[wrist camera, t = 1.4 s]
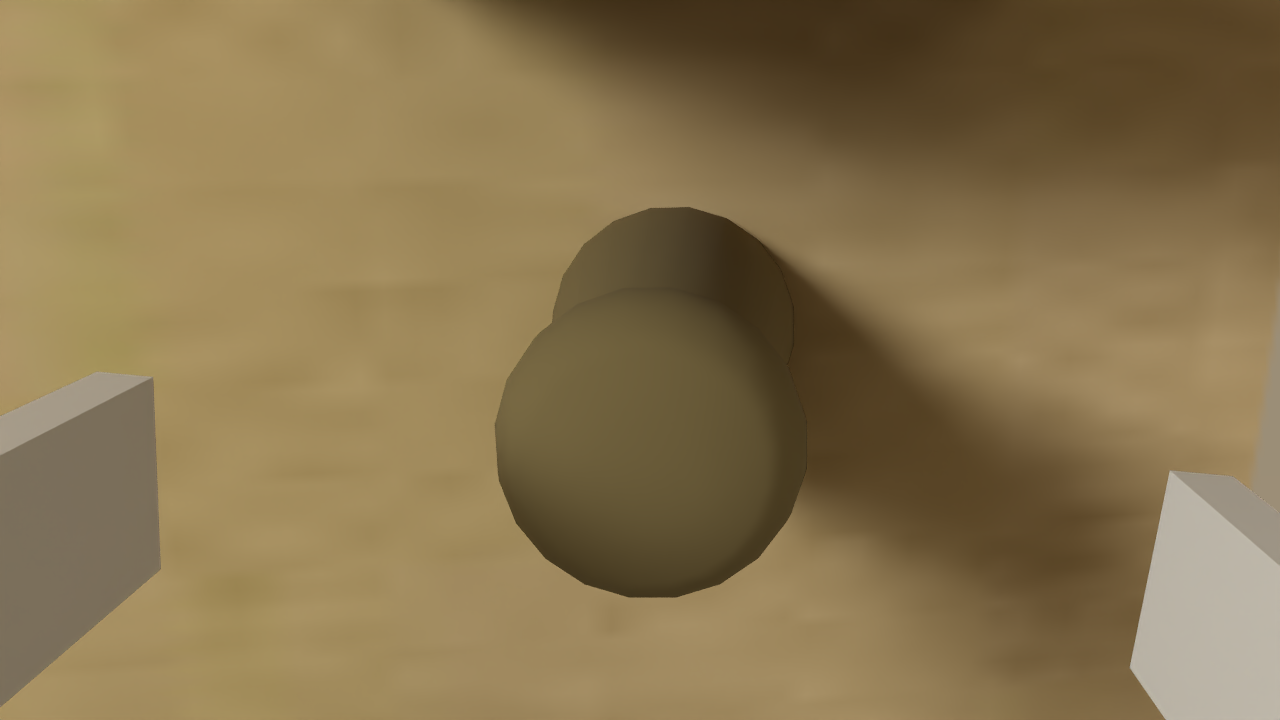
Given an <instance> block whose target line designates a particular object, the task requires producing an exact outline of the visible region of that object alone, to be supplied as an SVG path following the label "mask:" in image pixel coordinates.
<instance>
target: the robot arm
mask: <svg viewBox="0 0 1280 720" xmlns="http://www.w3.org/2000/svg"><path fill="white" fill-rule="evenodd" d="M160 569H161V564H160V538H159V513H158V488H157V462H156V437H155V412H154V386H153V377H148V376H137V375H126V374H115V373H105V372H95V373H93V374H91V375H89V376H87V377H84V378H82V379H80V380H78V381H76V382H74V383H71V384H69V385H67V386H65V387H63V388H60V389H58V390H56V391H54V392H52V393H50V394H47V395H45V396H43V397H41V398H39V399H37V400H34V401H32V402H30V403H28V404H26V405H23V406H21V407H19V408H17V409H15V410H13V411H10V412H8V413H6V414H4V415H2V416H0V707H1V706H2V705H3V704H5V703H6V702H7V701H8V700H9V699H10V698H12V697H13V696H14V695H15V694H16V693H17V692H19V691H20V690H21V689H22V688H23V687H24V686H25V685H27V684H28V683H29V682H30V681H31V680H32V679H34V678H35V677H36V676H37V675H38V674H39V673H41V672H42V671H43V670H44V669H45V668H46V667H48V666H49V665H50V664H51V663H52V662H53V661H55V660H56V659H57V658H58V657H59V656H60V655H62V654H63V653H64V652H65V651H66V650H67V649H68V648H70V647H71V646H72V645H73V644H74V643H75V642H77V641H78V640H79V639H80V638H81V637H82V636H84V635H85V634H86V633H87V632H88V631H89V630H91V629H92V628H93V627H94V626H95V625H96V624H98V623H99V622H100V621H101V620H102V619H103V618H105V617H106V616H107V615H108V614H109V613H110V612H111V611H113V610H114V609H115V608H116V607H117V606H118V605H120V604H121V603H122V602H123V601H124V600H125V599H127V598H128V597H129V596H130V595H131V594H132V593H134V592H135V591H136V590H137V589H138V588H139V587H141V586H142V585H143V584H144V583H145V582H146V581H148V580H149V579H150V578H151V577H152V576H153V575H154V574H156V573H157V572H158V571H159V570H160ZM1130 669H1131V670H1132V672H1133V673H1134V675H1135V676H1136V678H1137V679H1138V680H1139V682H1140V683H1141V685H1142V686H1143V688H1144V689H1145V691H1146V692H1147V693H1148V695H1149V696H1150V698H1151V699H1152V701H1153V702H1154V704H1155V705H1156V706H1157V708H1158V709H1159V711H1160V712H1161V714H1162V715H1163V717H1164V718H1165V719H1166V720H1280V513H1279V512H1278V511H1277V510H1276V509H1274V508H1273V507H1272V506H1270V505H1269V504H1268V503H1267V502H1265V501H1264V500H1262V499H1261V498H1260V497H1259V496H1258V495H1256V494H1255V493H1254V492H1252V491H1251V490H1250V489H1248V488H1247V487H1246V486H1245V485H1243V484H1242V483H1241V482H1239V481H1238V480H1237V479H1236V478H1234V477H1233V476H1225V475H1214V474H1204V473H1193V472H1182V471H1171V470H1170V472H1169V477H1168V482H1167V487H1166V492H1165V497H1164V502H1163V507H1162V512H1161V517H1160V521H1159V526H1158V531H1157V536H1156V541H1155V546H1154V551H1153V556H1152V561H1151V566H1150V570H1149V575H1148V580H1147V585H1146V590H1145V595H1144V600H1143V605H1142V610H1141V615H1140V620H1139V624H1138V629H1137V634H1136V639H1135V644H1134V649H1133V654H1132V659H1131V664H1130Z"/></svg>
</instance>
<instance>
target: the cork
mask: <svg viewBox="0 0 1280 720" xmlns="http://www.w3.org/2000/svg"><path fill="white" fill-rule="evenodd" d="M793 345H794V307H793V304H792V301H791V298H790V295H789V292H788V289H787V286H786V283H785V280H784V277H783V274H782V271H781V270H780V268H779V267H778V266H777V264H776V263H775V262H774V261H773V259H772V258H771V257H770V255H769V254H768V253H767V251H766V250H765V249H764V247H763V246H762V245H761V243H760V242H759V241H758V240H757V239H756V238H754V237H753V236H751V235H750V234H748V233H747V232H745V231H744V230H743V229H741V228H740V227H738V226H737V225H735V224H734V223H732V222H731V221H730V220H728V219H727V218H724V217H720V216H717V215H713V214H710V213H707V212H703V211H700V210H697V209H693V208H690V207H680V208H650V209H647V210H644V211H641V212H638V213H636V214H633V215H630V216H627V217H624V218H622V219H619V220H616V221H614V222H612V223H611V224H610V225H608V226H607V227H606V228H605V229H603V230H602V231H601V232H599V233H598V234H597V235H596V236H594V237H593V238H592V239H590V240H589V241H588V242H587V243H585V244H584V245H583V247H582V248H581V250H580V251H579V253H578V254H577V256H576V257H575V259H574V260H573V262H572V263H571V265H570V266H569V268H568V269H567V271H566V272H565V274H564V275H563V278H562V281H561V285H560V289H559V292H558V296H557V300H556V303H555V307H554V311H553V320H552V324H550V325H549V326H548V327H546V328H545V329H544V330H543V331H541V332H540V333H539V334H538V335H537V336H536V338H535V339H534V340H533V341H532V343H531V344H530V346H529V347H528V349H527V350H526V352H525V353H524V355H523V356H522V358H521V359H520V361H519V362H518V364H517V365H516V367H515V368H514V370H513V371H512V373H511V374H510V376H509V377H508V379H507V381H506V385H505V389H504V392H503V396H502V400H501V404H500V407H499V411H498V415H497V419H496V422H495V435H496V450H497V465H498V476H499V482H500V484H501V487H502V489H503V492H504V494H505V497H506V499H507V502H508V504H509V507H510V509H511V512H512V514H513V516H514V519H515V521H516V524H517V525H518V526H519V527H520V528H521V530H522V531H523V532H524V533H525V534H526V536H527V537H528V538H529V539H530V540H531V542H532V543H533V544H534V545H535V546H536V548H537V549H538V550H539V551H540V552H541V554H542V555H543V556H544V557H545V558H546V559H547V560H548V561H550V562H551V563H553V564H555V565H556V566H558V567H559V568H561V569H562V570H564V571H565V572H567V573H568V574H570V575H571V576H573V577H574V578H576V579H577V580H579V581H580V582H582V583H584V584H586V585H589V586H592V587H596V588H599V589H603V590H606V591H609V592H613V593H616V594H619V595H623V596H626V597H679V596H682V595H685V594H689V593H692V592H695V591H699V590H702V589H705V588H709V587H712V586H715V585H719V584H721V583H722V582H724V581H725V580H727V579H728V578H730V577H731V576H733V575H734V574H736V573H737V572H739V571H740V570H742V569H743V568H744V567H746V566H747V565H749V564H750V563H752V562H753V561H755V560H756V559H758V558H759V556H760V555H761V554H762V553H763V551H764V550H765V549H766V547H767V546H768V545H769V544H770V542H771V541H772V540H773V538H774V537H775V536H776V535H777V533H778V532H779V531H780V529H781V528H782V527H783V525H784V524H785V523H786V521H787V520H788V518H789V516H790V514H791V512H792V509H793V507H794V504H795V501H796V498H797V495H798V492H799V489H800V486H801V483H802V481H803V478H804V475H805V472H806V469H807V421H806V417H805V414H804V411H803V408H802V406H801V403H800V400H799V397H798V394H797V391H796V388H795V385H794V382H793V379H792V376H791V373H790V370H789V367H788V366H787V364H788V361H789V358H790V355H791V351H792V348H793Z"/></svg>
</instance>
